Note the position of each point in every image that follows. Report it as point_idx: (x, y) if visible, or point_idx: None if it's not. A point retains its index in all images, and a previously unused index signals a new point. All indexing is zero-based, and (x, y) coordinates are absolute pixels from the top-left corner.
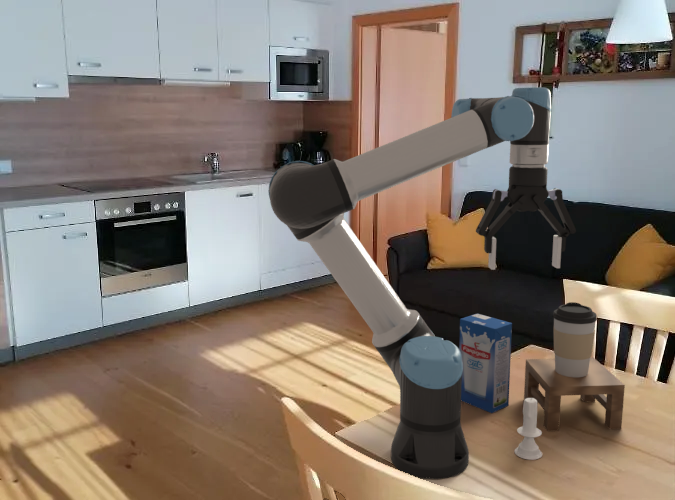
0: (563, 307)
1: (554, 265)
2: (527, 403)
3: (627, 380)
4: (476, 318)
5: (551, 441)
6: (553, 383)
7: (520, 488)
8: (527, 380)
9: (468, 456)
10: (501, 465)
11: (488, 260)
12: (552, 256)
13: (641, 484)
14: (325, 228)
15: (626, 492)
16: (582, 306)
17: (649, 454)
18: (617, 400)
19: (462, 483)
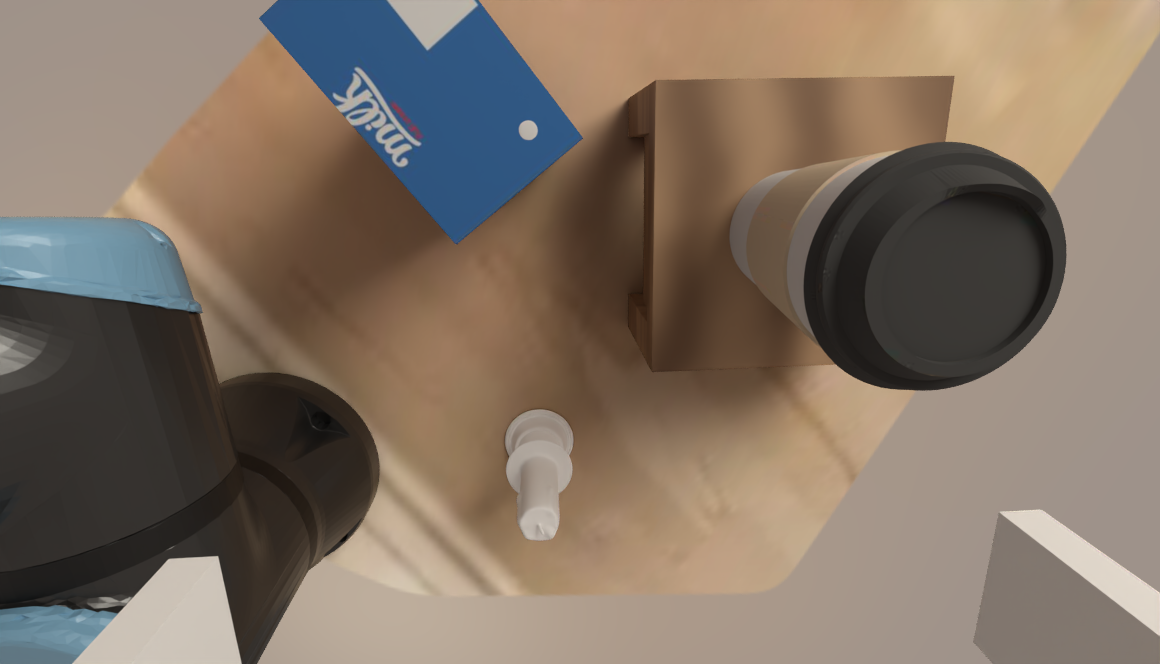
0: (911, 229)
1: (996, 598)
2: (524, 536)
3: None
4: (373, 17)
5: (619, 382)
6: (676, 342)
7: (480, 576)
8: (641, 123)
9: (371, 499)
10: (458, 491)
11: (109, 625)
12: (1099, 591)
13: (742, 561)
14: None
15: (696, 587)
16: (1040, 223)
17: (830, 447)
18: None
19: (354, 560)
